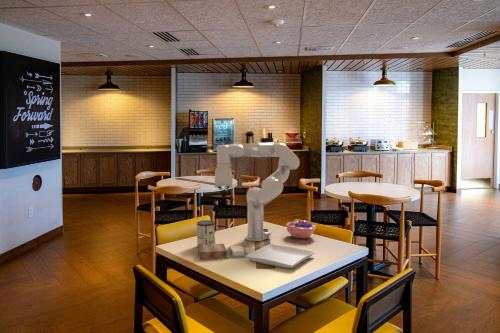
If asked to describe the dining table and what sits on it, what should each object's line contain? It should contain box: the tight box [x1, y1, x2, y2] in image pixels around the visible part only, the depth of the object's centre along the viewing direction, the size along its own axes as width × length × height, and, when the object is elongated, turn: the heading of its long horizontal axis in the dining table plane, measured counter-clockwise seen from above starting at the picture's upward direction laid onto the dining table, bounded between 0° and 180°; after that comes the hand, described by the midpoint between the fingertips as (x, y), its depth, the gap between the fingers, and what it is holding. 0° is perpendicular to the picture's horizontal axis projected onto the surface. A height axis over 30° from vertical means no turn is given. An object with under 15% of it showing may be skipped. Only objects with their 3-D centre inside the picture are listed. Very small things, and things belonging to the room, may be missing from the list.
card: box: [230, 245, 244, 256], centre depth 231 cm, size 6×9×2 cm, turn 10°
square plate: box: [245, 243, 316, 269], centre depth 222 cm, size 27×27×4 cm
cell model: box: [285, 219, 317, 240], centre depth 264 cm, size 17×20×11 cm
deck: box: [197, 243, 228, 261], centre depth 229 cm, size 14×14×4 cm
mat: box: [226, 248, 249, 259], centre depth 232 cm, size 11×15×1 cm
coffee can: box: [196, 219, 216, 248], centre depth 245 cm, size 10×10×14 cm
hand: (223, 197), depth 251 cm, fingers closed
